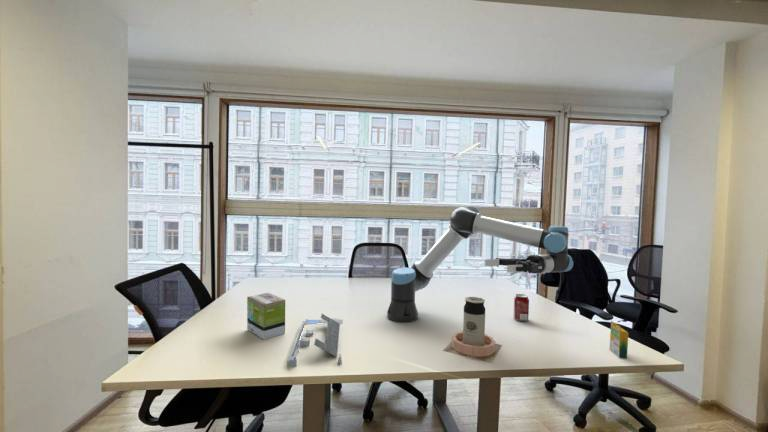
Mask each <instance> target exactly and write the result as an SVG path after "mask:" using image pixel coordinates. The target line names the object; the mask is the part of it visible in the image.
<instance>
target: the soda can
mask: <svg viewBox="0 0 768 432" xmlns="http://www.w3.org/2000/svg"><path fill="white" fill-rule="evenodd" d="M529 306H530V299H529V297H528V295H527V294H523V293H522V294H521V293H517V294H515V297H514V298H513V318H514V320H516V321H519V322H526V321H529V313H530V312H529V310H530V309H529V308H530V307H529Z"/></svg>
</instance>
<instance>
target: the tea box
mask: <svg viewBox="0 0 768 432" xmlns="http://www.w3.org/2000/svg"><path fill="white" fill-rule="evenodd" d="M246 299H247V301H246V304H247V307H246V311H247V312H246V313H247V314H246V317H247V318H246V320H247V321H246V323H247V325H246V326H247V327H246V328H247V330H248V331H249V332H251V333H253V334H254V335H256V336H257V337H259V338H260V339H262V340H263V339H265V340H267V339H272V338H274V336H275V337H278V336H281V335H285V334H286V299H284V298H282V297H279V296H277V295H275V294H272V293H270V292H264V293H260V294H253V295H250V296H247V297H246ZM271 337H272V338H271Z"/></svg>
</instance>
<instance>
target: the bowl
mask: <svg viewBox="0 0 768 432" xmlns="http://www.w3.org/2000/svg"><path fill="white" fill-rule="evenodd" d="M451 342H452V347H453V349H454V350H456V351H457V352H459V353H461V354H464V355H468V356H473V357H486V356H490V355H493V354H494V353H495V344H496V341H495V339H494V338H493V337H492V336H489V335H488V334H485V335H484V346H471V345H467V344H463V331H459V332H455V333H454V334H453V335H452V336H451Z"/></svg>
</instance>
